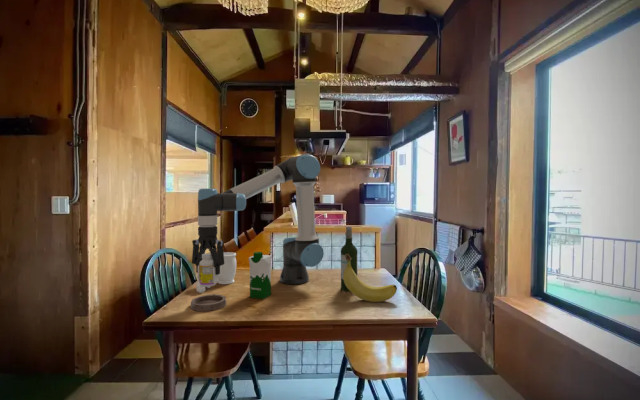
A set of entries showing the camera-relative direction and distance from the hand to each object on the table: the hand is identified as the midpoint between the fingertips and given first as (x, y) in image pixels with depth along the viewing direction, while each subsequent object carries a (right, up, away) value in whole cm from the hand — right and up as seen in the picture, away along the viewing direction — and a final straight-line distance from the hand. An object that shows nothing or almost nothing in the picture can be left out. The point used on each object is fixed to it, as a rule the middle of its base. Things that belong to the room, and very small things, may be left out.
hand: (208, 281), depth 133 cm
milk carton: (+20, -10, +12) cm, 25 cm away
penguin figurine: (-10, -10, +21) cm, 25 cm away
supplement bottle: (0, -2, 0) cm, 2 cm away
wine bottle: (+60, -9, +21) cm, 65 cm away
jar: (-3, -9, +35) cm, 36 cm away
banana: (+68, -10, +4) cm, 68 cm away
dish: (0, -10, 0) cm, 10 cm away
